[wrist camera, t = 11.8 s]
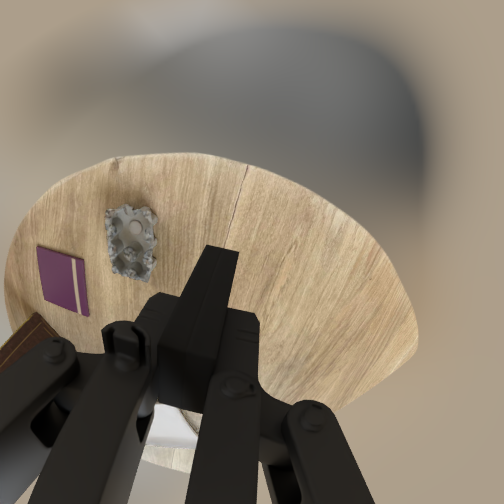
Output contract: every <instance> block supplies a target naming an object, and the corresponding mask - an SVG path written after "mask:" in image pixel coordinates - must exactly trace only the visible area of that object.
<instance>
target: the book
mask: <svg viewBox="0 0 504 504" xmlns="http://www.w3.org/2000/svg"><path fill="white" fill-rule="evenodd" d="M51 337H60V336H59V335H58V334H57V333H56V332H55V331H54V330H53V328H52V327H51V326H50V325H49V324H48V323H47V322H46V321H45V320H44V319H43V317H42V316H41V315H39V314H38V313H37V312H36V313H33V314H32V315H31V316H30V317H29V318H28V319H27V320H26V321H25V322H24V323H23V324H22V325H21V326H20V327H19V328H18V329H17V330H16V332H15V333H14V334H13V335H12V336H11V337H10V338H9V339H8V340H7V341H6V342H5V343H4V345H2V346H1V348H0V374H1V373H2V372H3V371H4V370H6V369H7V368H8V367H9V366H10V365H12V364H13V363H14V362H15V361H17V360H18V359H19V358H20V357H22V356H23V355H24V354H25V353H27V352H28V351H29V350H31V349H32V348H33V347H34V346H36V345H37V344H38V343H40V342H41V341H43V340H45V339H47V338H51Z"/></svg>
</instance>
